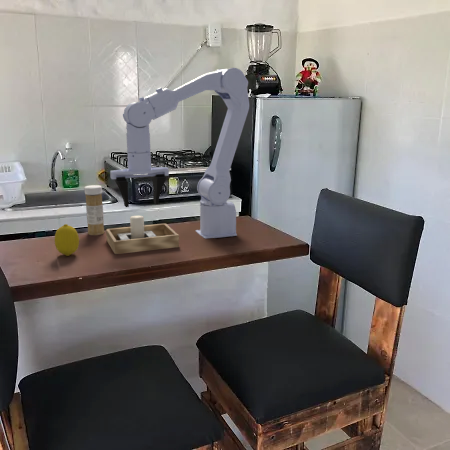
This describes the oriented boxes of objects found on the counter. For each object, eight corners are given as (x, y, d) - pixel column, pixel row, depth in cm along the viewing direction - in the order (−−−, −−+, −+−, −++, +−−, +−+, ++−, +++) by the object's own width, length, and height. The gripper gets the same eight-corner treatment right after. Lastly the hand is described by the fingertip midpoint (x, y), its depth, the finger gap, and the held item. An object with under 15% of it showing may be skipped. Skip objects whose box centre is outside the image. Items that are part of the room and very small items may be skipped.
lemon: (54, 254, 122) (52, 222, 120) (78, 251, 124) (76, 220, 122) (57, 261, 117) (54, 228, 115) (81, 258, 119) (79, 225, 117)
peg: (143, 241, 131) (142, 215, 129) (145, 245, 128) (144, 218, 126) (130, 242, 130) (129, 216, 128) (132, 246, 127) (130, 219, 125)
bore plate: (151, 237, 135) (151, 230, 134) (160, 247, 127) (159, 239, 126) (117, 241, 131) (117, 233, 131) (124, 251, 123) (123, 243, 123)
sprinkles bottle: (100, 231, 142) (97, 184, 138) (107, 234, 139) (104, 186, 135) (84, 233, 139) (81, 185, 136) (92, 237, 136) (88, 188, 132)
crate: (166, 235, 138) (165, 223, 137) (179, 248, 127) (178, 234, 126) (106, 242, 132) (106, 229, 131) (115, 255, 121) (114, 241, 120)
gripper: (162, 148, 132) (164, 199, 136) (106, 151, 127) (110, 204, 130) (170, 151, 126) (172, 204, 129) (112, 154, 120) (115, 210, 124)
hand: (141, 205), depth 129 cm, fingers open, 7 cm apart
